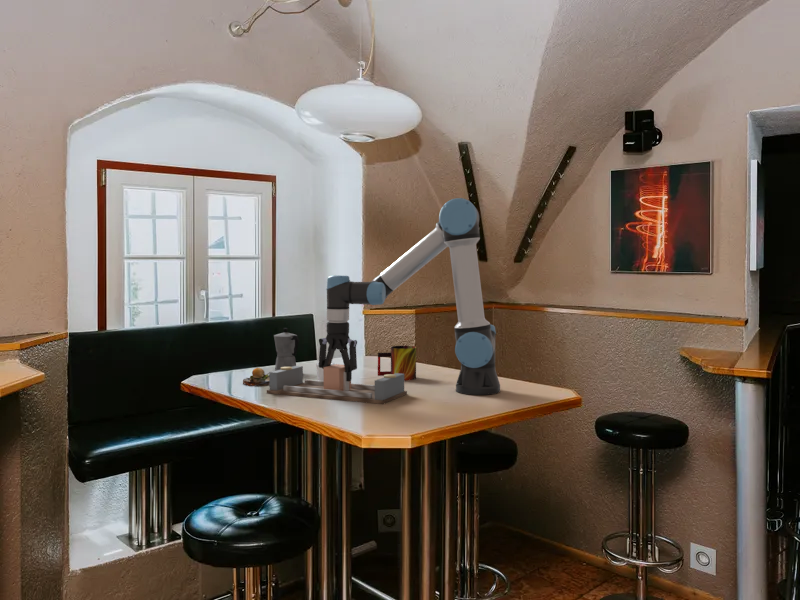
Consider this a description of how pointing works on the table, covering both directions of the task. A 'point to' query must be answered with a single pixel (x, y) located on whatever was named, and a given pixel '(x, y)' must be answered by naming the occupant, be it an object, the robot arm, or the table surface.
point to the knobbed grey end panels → (294, 376)
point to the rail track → (334, 392)
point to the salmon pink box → (334, 377)
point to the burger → (257, 378)
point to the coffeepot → (285, 349)
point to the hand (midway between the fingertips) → (337, 389)
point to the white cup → (321, 372)
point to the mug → (401, 361)
